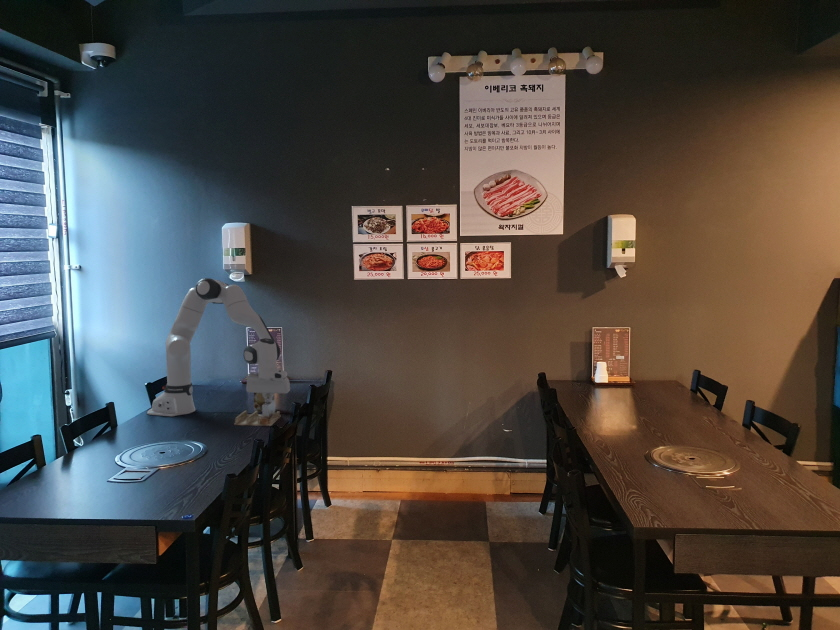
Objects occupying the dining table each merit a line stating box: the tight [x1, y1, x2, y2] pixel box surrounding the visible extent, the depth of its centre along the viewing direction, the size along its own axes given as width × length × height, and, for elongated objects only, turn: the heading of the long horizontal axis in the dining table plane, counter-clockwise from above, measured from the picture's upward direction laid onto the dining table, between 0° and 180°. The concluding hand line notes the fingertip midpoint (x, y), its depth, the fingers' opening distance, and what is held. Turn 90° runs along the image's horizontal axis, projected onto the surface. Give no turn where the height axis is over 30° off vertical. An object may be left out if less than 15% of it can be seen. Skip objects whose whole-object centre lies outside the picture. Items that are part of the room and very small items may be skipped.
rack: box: [233, 410, 282, 427], centre depth 282 cm, size 17×15×3 cm
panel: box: [261, 399, 276, 420], centre depth 282 cm, size 3×10×8 cm, turn 177°
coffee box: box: [253, 393, 276, 413], centre depth 300 cm, size 9×6×16 cm
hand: (268, 401), depth 281 cm, fingers closed
